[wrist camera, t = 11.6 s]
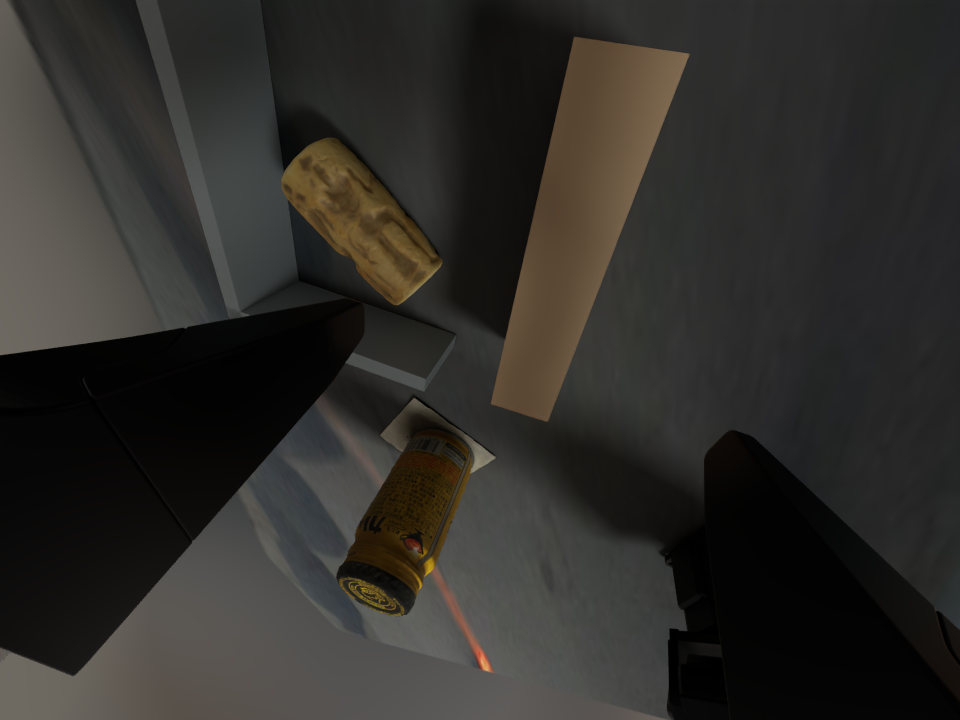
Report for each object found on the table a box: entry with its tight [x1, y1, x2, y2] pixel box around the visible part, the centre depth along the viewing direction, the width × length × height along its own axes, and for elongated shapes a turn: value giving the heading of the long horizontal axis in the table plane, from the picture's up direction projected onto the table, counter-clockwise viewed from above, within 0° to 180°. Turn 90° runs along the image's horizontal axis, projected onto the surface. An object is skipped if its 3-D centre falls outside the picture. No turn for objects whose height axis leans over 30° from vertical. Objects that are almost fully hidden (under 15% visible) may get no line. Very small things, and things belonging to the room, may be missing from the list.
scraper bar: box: [491, 37, 689, 422], centre depth 16 cm, size 3×14×6 cm, turn 171°
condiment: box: [336, 398, 496, 616], centre depth 26 cm, size 7×8×12 cm
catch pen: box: [136, 0, 456, 392], centre depth 17 cm, size 13×18×5 cm
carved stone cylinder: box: [281, 137, 443, 305], centre depth 19 cm, size 8×4×4 cm, turn 40°
